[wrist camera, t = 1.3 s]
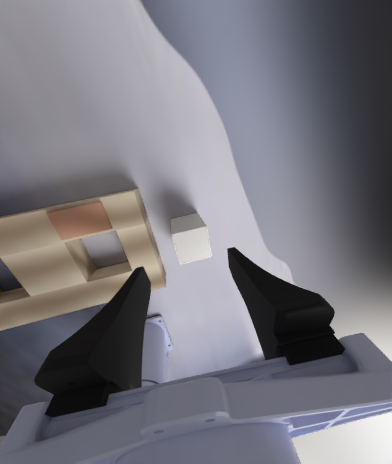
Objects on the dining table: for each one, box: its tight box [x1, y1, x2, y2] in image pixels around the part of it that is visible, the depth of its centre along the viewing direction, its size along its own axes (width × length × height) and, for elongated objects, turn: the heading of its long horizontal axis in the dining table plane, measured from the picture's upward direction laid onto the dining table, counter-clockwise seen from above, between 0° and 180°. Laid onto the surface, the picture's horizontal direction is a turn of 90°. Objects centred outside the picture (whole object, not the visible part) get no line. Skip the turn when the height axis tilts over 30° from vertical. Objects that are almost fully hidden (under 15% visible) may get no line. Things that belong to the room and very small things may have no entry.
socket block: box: [0, 188, 166, 331], centre depth 20 cm, size 14×26×3 cm, turn 100°
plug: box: [171, 213, 212, 265], centre depth 21 cm, size 4×4×6 cm
